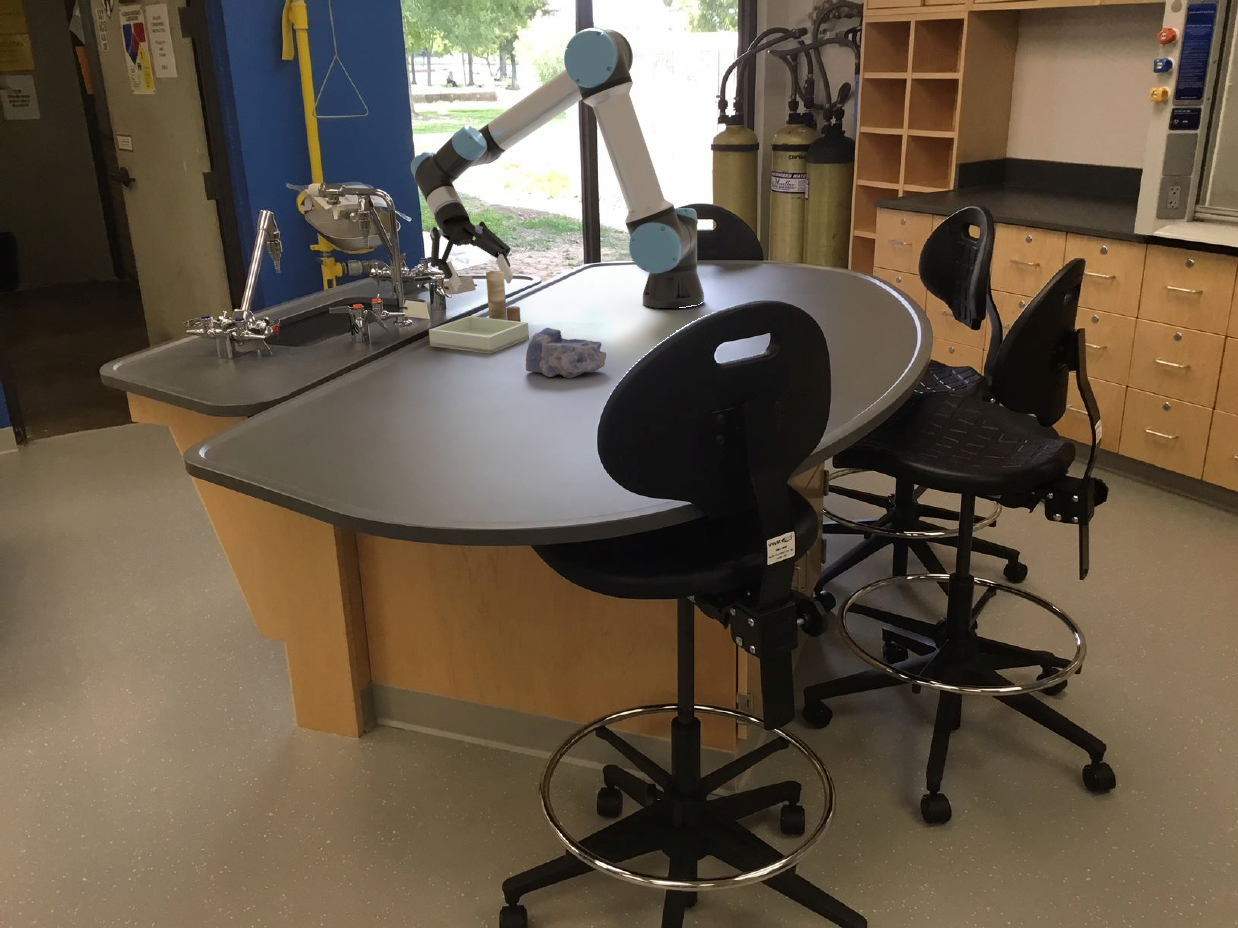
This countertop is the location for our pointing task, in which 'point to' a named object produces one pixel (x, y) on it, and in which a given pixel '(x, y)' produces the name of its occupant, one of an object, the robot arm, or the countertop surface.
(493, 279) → the dowel
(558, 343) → the mineral
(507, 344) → the tray
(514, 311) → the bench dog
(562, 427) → the countertop surface
